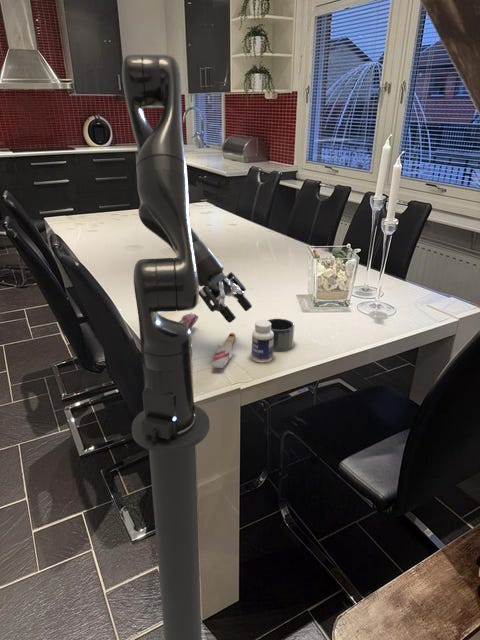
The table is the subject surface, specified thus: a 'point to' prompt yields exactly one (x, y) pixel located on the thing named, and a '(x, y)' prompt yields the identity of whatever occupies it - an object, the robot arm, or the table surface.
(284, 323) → the holder
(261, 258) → the table surface
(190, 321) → the video game controller
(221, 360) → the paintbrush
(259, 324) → the pill bottle
